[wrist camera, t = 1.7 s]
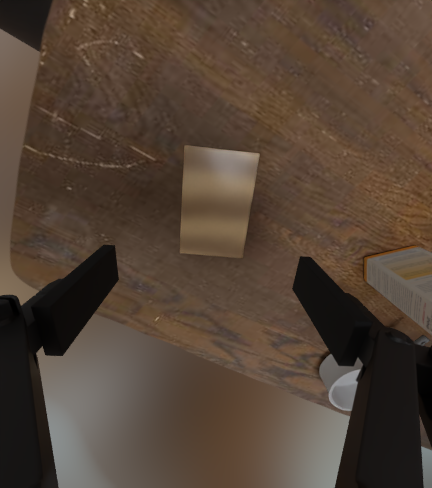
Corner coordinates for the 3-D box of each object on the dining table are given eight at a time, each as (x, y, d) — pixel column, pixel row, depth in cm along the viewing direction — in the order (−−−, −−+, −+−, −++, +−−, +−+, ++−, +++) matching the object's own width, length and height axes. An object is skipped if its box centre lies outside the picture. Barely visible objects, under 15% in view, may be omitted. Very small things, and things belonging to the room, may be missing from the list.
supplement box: (362, 280, 37) (436, 343, 25) (363, 256, 35) (442, 310, 23) (413, 270, 36) (515, 328, 24) (416, 243, 34) (527, 293, 22)
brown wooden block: (186, 145, 28) (184, 145, 26) (255, 153, 29) (259, 153, 26) (182, 244, 34) (179, 253, 31) (239, 249, 34) (242, 258, 32)
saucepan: (420, 327, 41) (450, 352, 36) (343, 389, 47) (359, 418, 42) (378, 301, 39) (404, 324, 33) (303, 370, 45) (315, 398, 40)
